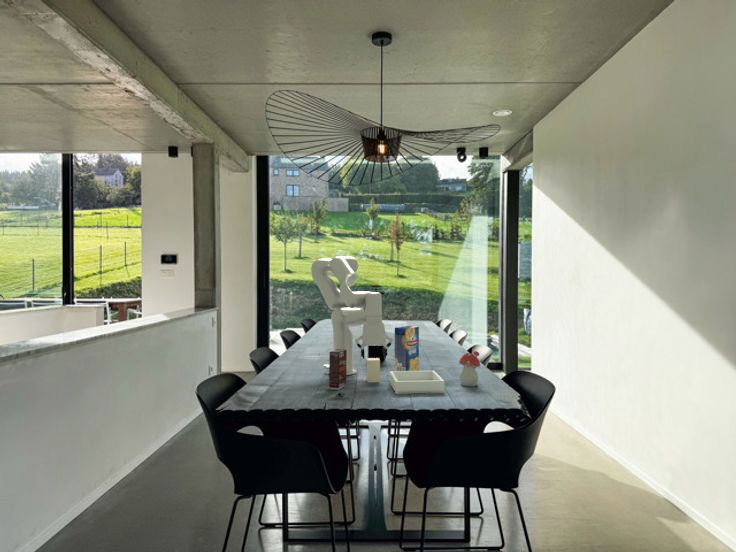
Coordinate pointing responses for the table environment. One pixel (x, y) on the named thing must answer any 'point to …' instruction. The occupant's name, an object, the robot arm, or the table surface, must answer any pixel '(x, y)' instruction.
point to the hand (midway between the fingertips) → (374, 357)
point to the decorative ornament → (469, 369)
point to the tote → (416, 382)
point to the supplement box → (337, 369)
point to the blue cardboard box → (407, 348)
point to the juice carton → (373, 369)
